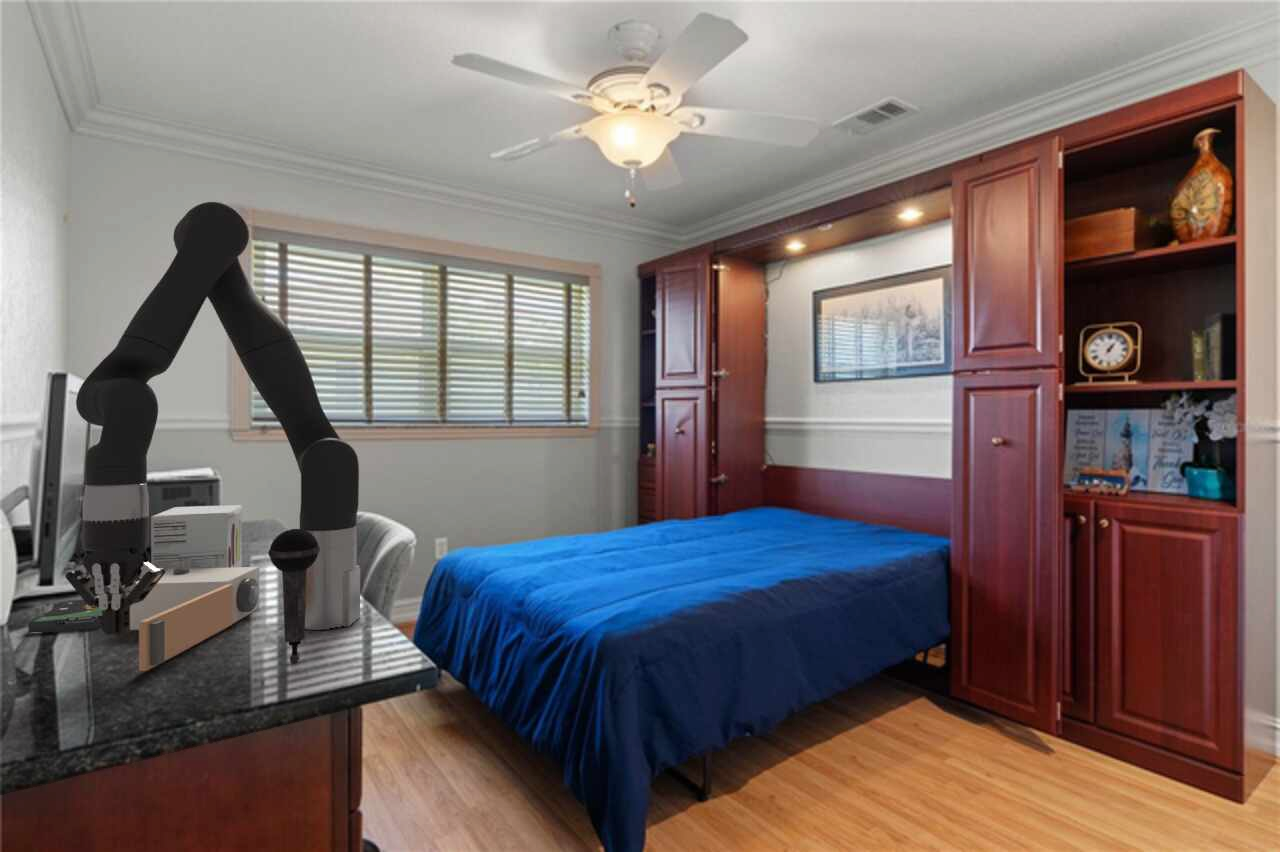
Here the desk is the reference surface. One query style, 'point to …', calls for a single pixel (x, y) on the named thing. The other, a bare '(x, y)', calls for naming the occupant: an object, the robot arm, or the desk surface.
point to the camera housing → (199, 591)
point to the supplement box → (197, 537)
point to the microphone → (294, 579)
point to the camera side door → (184, 626)
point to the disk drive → (68, 618)
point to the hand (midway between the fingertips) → (115, 633)
